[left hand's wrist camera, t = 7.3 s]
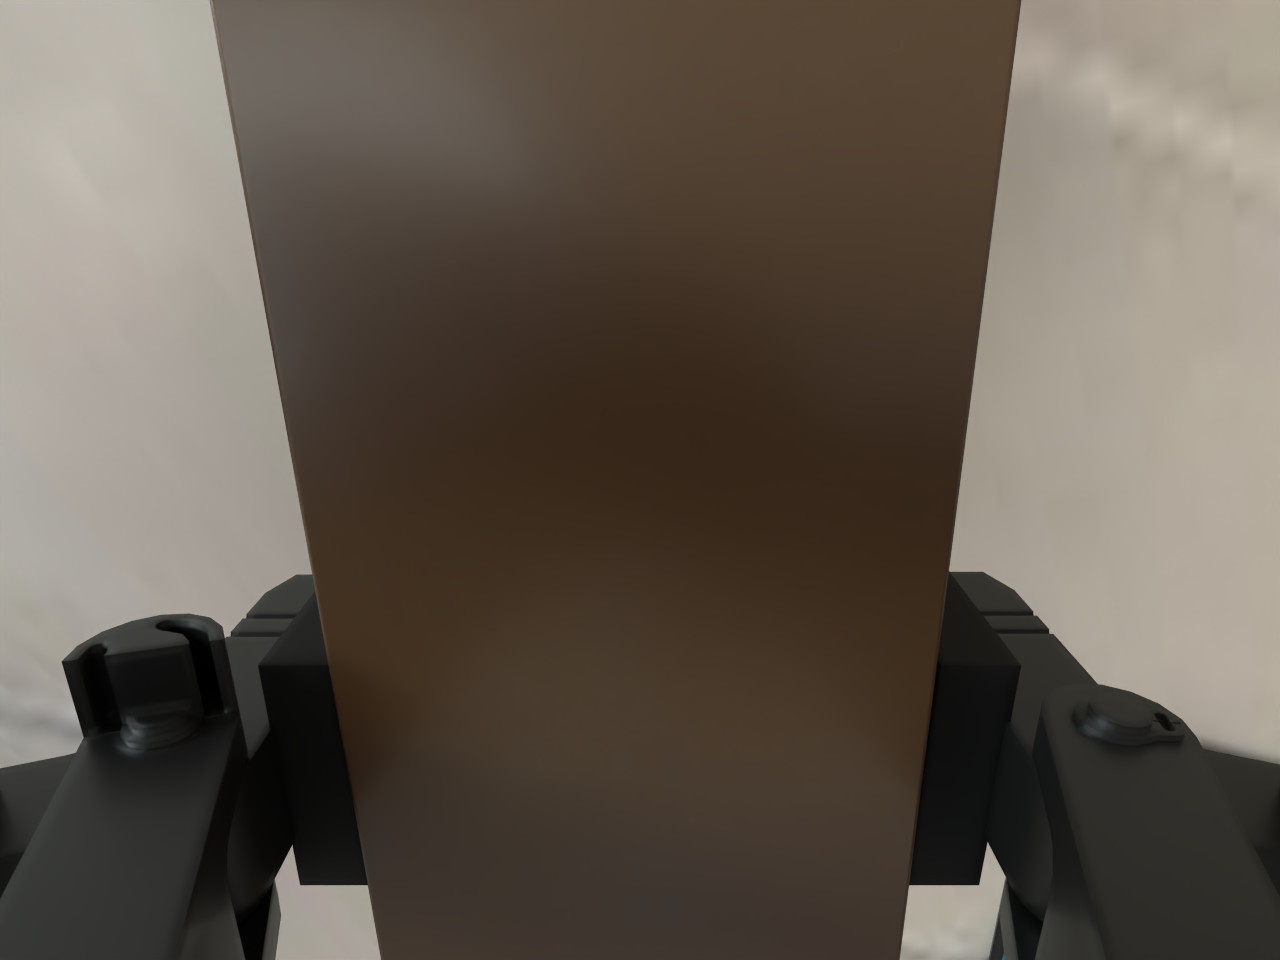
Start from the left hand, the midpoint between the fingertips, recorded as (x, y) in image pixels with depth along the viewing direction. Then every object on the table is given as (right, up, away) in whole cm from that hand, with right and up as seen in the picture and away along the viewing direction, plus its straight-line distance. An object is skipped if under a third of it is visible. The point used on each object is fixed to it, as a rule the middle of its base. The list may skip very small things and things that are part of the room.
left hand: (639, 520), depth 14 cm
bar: (0, +21, -7) cm, 22 cm away
